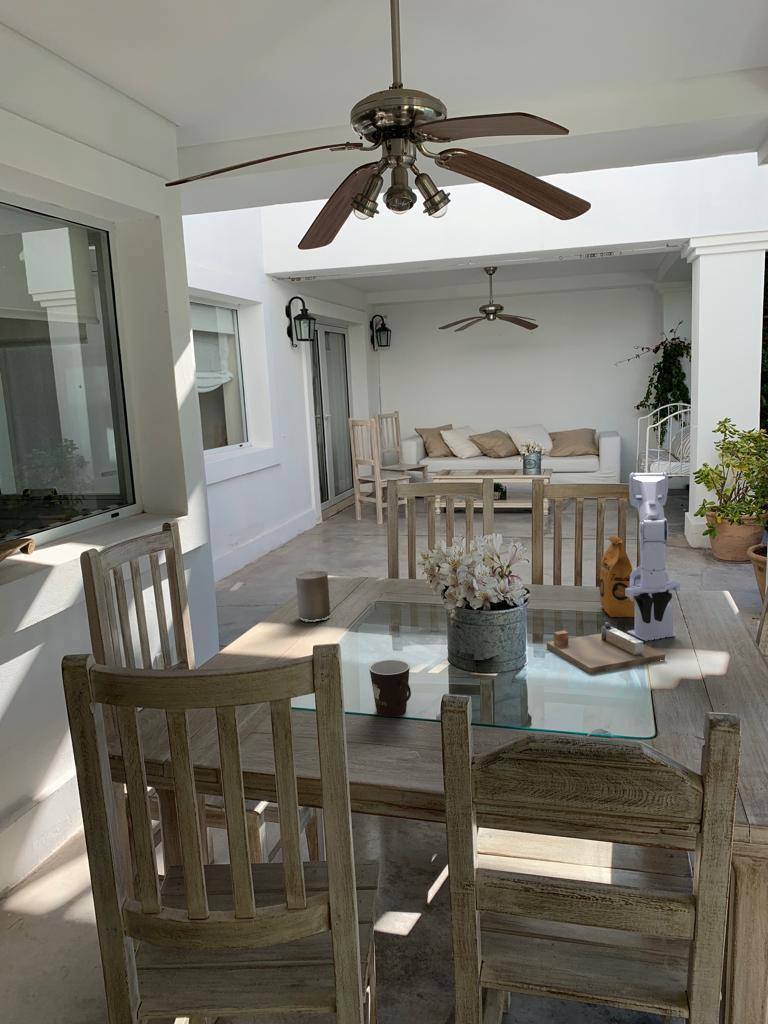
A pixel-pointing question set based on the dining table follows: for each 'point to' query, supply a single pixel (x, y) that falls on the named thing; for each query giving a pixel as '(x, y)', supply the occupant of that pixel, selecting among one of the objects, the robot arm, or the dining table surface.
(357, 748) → the dining table surface
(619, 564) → the coffee package
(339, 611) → the dining table surface
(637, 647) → the bar
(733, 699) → the dining table surface
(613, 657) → the brown wooden board
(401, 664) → the coffee mug
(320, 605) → the pillar candle
